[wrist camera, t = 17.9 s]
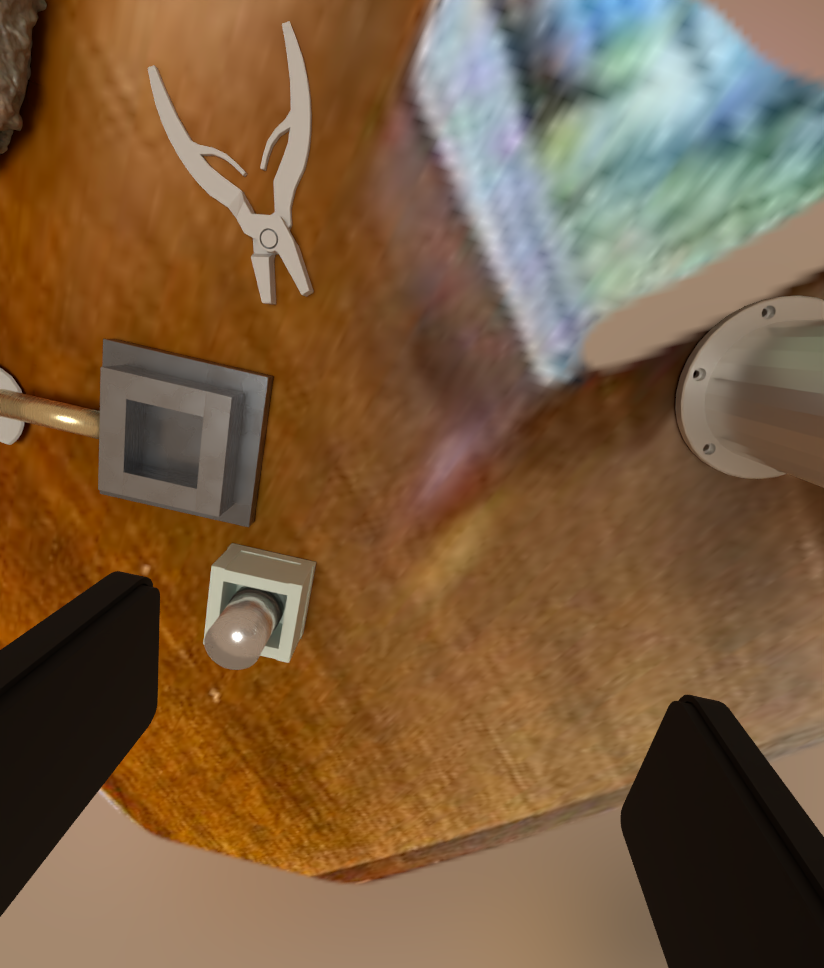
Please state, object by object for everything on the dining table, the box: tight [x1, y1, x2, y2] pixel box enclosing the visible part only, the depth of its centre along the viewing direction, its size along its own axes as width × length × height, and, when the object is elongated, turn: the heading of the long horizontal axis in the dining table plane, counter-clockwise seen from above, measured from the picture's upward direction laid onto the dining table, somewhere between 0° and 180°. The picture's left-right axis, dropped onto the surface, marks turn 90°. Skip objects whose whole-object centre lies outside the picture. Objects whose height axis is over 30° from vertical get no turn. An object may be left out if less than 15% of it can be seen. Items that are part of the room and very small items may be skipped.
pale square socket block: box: [203, 543, 316, 663], centre depth 38 cm, size 7×7×4 cm
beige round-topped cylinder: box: [204, 586, 287, 670], centre depth 36 cm, size 4×4×7 cm
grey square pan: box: [0, 339, 273, 527], centre depth 35 cm, size 18×12×4 cm, turn 77°
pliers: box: [148, 22, 314, 304], centre depth 31 cm, size 10×2×15 cm
